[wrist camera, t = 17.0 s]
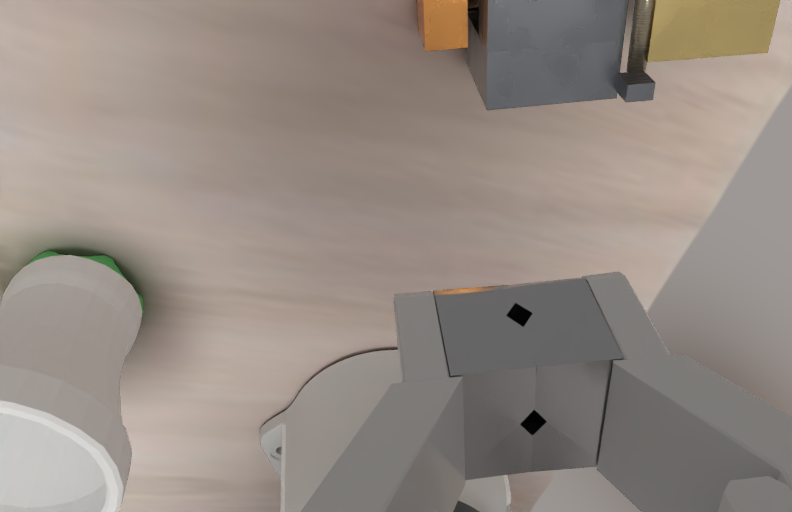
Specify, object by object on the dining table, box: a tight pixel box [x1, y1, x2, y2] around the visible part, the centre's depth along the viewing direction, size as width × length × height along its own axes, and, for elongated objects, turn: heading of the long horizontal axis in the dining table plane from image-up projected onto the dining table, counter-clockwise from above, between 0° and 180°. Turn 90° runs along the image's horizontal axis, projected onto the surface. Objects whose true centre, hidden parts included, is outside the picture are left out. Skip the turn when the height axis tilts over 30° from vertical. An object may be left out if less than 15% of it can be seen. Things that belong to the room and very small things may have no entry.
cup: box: [0, 251, 144, 512], centre depth 39 cm, size 11×11×14 cm
